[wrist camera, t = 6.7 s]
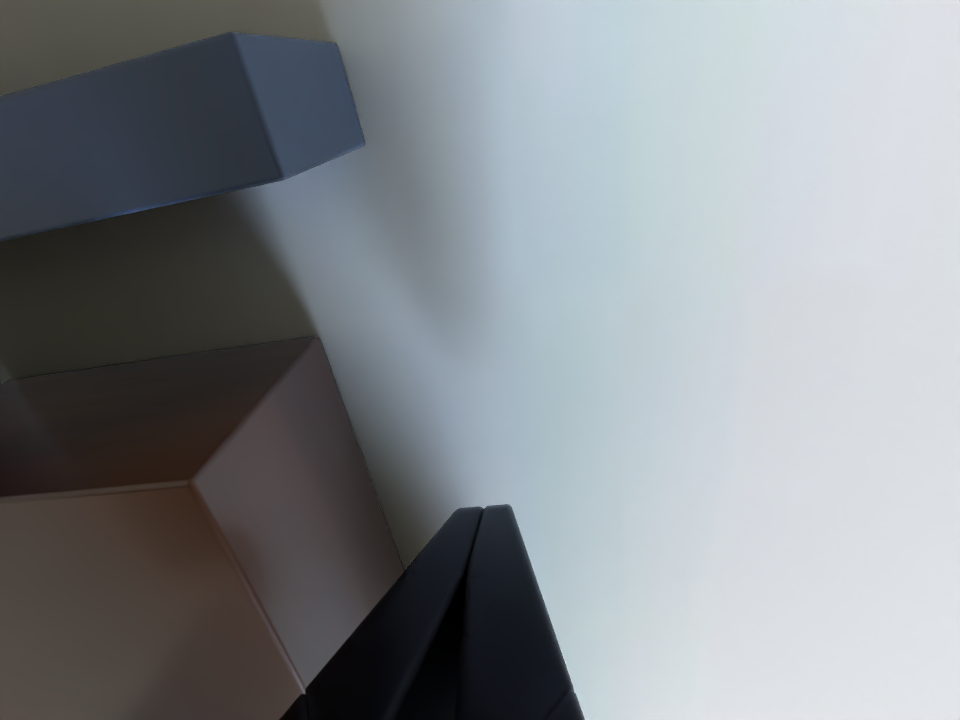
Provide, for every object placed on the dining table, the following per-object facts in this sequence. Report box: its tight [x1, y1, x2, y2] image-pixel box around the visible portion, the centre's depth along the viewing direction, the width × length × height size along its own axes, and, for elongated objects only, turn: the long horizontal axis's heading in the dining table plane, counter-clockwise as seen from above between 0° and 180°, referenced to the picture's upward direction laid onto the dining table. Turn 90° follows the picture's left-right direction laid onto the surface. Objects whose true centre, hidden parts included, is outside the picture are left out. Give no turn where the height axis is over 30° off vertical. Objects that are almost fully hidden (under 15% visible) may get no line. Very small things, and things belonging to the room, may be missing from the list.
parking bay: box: [0, 32, 365, 241], centre depth 10 cm, size 10×13×2 cm
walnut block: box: [0, 336, 404, 720], centre depth 9 cm, size 6×6×4 cm
